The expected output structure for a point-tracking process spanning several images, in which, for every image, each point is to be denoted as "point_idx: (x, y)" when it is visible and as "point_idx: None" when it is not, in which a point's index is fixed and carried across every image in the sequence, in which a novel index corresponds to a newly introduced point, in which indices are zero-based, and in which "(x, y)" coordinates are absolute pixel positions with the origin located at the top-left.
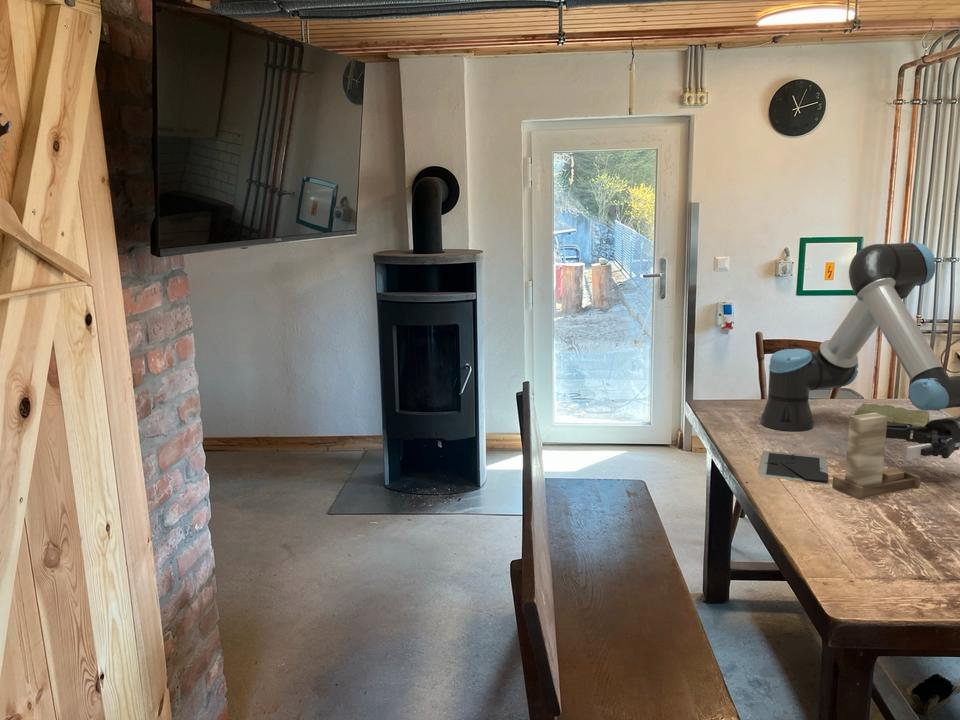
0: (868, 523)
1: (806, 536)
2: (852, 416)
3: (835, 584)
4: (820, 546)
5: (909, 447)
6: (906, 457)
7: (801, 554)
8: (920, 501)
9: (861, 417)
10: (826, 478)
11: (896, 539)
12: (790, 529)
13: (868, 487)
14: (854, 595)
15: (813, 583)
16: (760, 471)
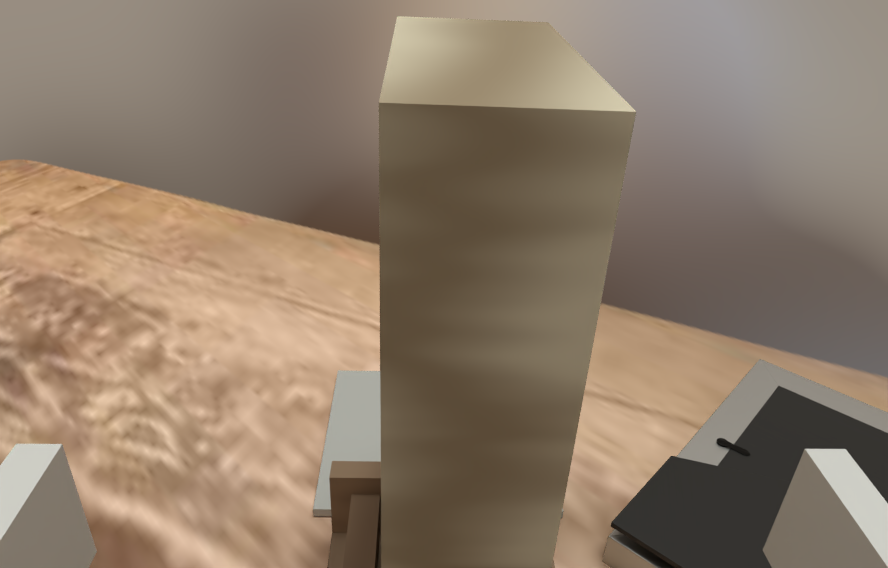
0: (173, 424)
1: (252, 257)
2: (532, 24)
3: (59, 194)
4: (187, 250)
5: (32, 450)
6: (92, 543)
7: (193, 214)
8: None
9: (475, 31)
10: (650, 537)
11: (11, 405)
12: (311, 255)
13: (355, 559)
14: (5, 193)
15: (99, 180)
16: (822, 389)
